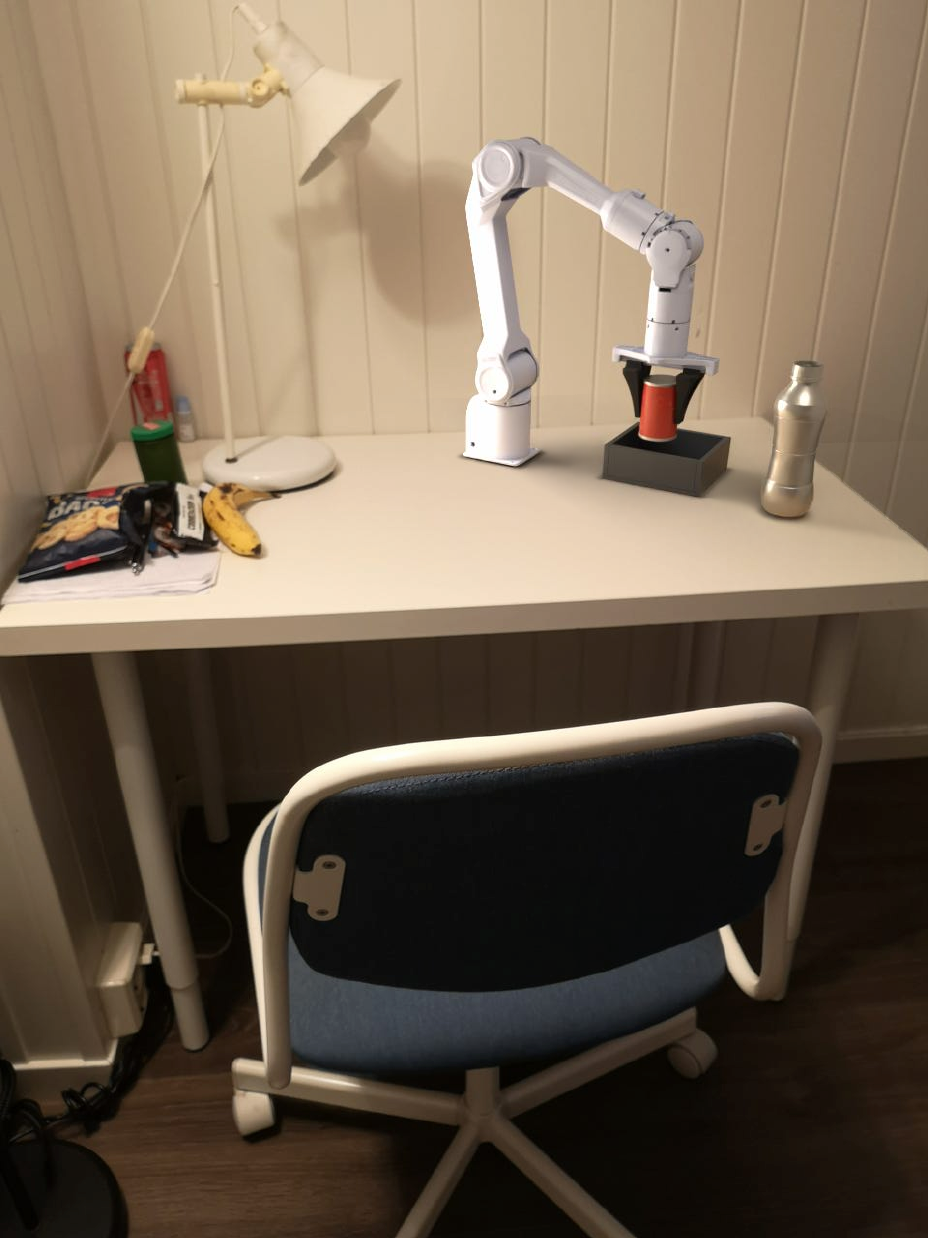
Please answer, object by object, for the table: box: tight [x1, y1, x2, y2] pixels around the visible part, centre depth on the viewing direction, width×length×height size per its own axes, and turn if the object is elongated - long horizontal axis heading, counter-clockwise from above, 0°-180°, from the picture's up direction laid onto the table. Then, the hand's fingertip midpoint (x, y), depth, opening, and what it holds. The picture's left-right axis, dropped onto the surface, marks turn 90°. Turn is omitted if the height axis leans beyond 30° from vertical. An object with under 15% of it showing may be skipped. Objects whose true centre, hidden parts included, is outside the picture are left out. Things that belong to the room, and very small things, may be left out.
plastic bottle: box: [760, 359, 829, 518], centre depth 126 cm, size 6×7×20 cm
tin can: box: [638, 373, 678, 442], centre depth 136 cm, size 5×5×8 cm
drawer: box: [601, 421, 732, 498], centre depth 143 cm, size 15×13×5 cm
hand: (658, 418), depth 137 cm, fingers closed on tin can, 5 cm apart
